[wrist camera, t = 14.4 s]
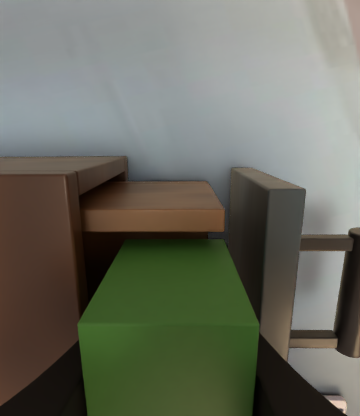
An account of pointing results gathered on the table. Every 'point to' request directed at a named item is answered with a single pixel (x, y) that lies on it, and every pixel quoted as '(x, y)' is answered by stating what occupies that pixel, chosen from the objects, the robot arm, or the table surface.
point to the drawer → (230, 245)
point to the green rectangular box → (170, 333)
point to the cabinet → (43, 259)
